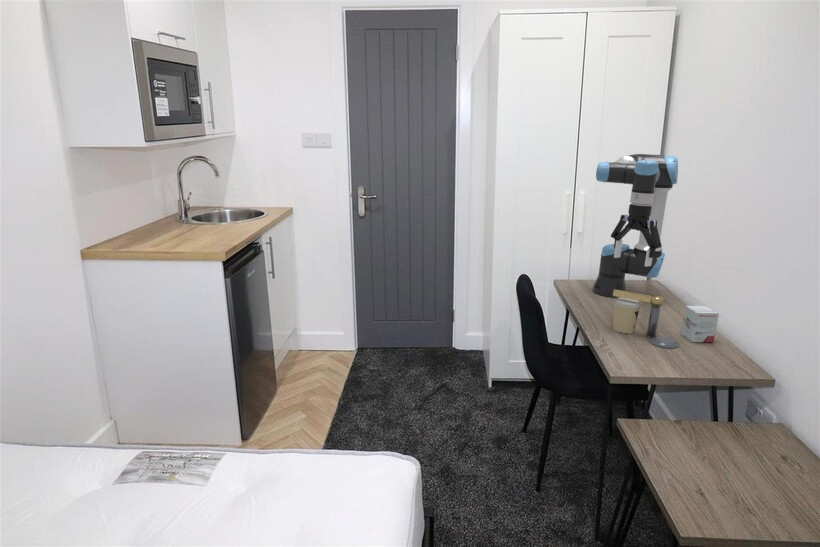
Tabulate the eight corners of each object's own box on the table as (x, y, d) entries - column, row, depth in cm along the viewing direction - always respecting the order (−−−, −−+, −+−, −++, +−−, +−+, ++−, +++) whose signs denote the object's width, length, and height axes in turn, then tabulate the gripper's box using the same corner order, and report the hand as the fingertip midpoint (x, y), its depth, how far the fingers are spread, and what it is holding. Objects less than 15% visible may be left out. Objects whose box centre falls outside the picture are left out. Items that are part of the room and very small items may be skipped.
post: (647, 333, 209) (652, 302, 206) (656, 335, 207) (661, 304, 204) (645, 336, 206) (650, 304, 203) (654, 338, 205) (660, 306, 201)
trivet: (650, 335, 207) (651, 334, 207) (679, 341, 202) (680, 340, 202) (646, 344, 199) (647, 342, 198) (676, 350, 194) (677, 349, 194)
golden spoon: (614, 294, 213) (615, 288, 212) (663, 303, 204) (664, 296, 203) (612, 297, 209) (612, 290, 208) (661, 306, 200) (662, 299, 200)
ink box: (701, 334, 210) (707, 305, 207) (713, 342, 202) (720, 313, 199) (679, 333, 210) (684, 304, 207) (691, 342, 202) (697, 312, 199)
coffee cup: (638, 335, 206) (643, 305, 203) (612, 333, 208) (616, 303, 205) (633, 326, 215) (638, 298, 212) (609, 324, 217) (613, 295, 214)
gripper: (605, 199, 204) (598, 254, 210) (664, 210, 183) (654, 270, 189) (619, 199, 208) (611, 253, 213) (678, 209, 187) (668, 268, 193)
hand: (631, 261), depth 201 cm, fingers open, 13 cm apart
